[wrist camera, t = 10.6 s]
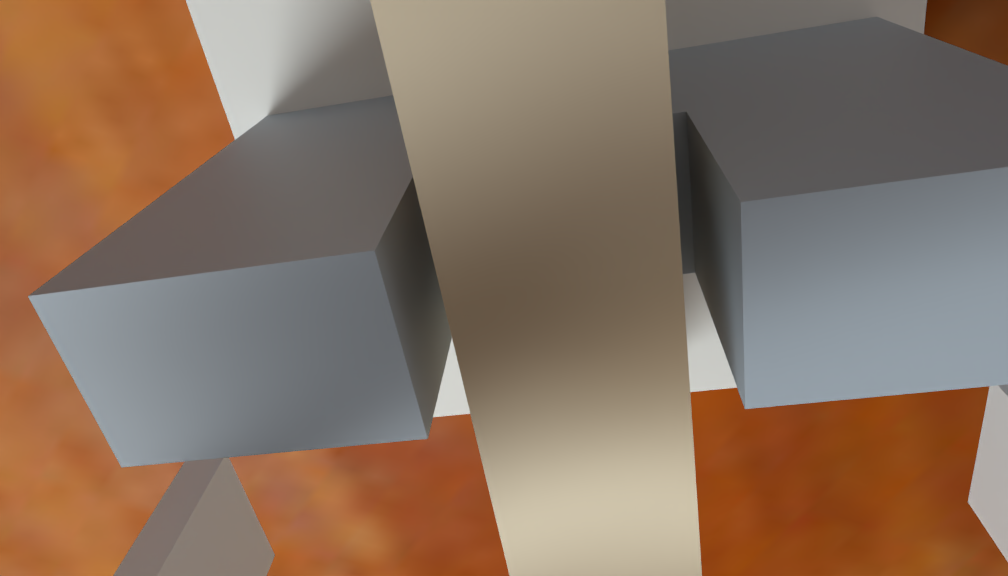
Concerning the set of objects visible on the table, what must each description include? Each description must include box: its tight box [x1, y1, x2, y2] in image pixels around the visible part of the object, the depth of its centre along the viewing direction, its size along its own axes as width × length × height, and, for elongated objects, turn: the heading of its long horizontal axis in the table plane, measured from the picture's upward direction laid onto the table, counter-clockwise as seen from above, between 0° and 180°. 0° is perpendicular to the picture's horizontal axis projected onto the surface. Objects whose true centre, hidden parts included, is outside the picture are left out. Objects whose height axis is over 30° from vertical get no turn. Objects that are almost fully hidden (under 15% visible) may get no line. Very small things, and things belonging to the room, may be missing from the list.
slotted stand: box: [28, 0, 1008, 467], centre depth 14 cm, size 16×16×10 cm
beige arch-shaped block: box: [370, 0, 702, 576], centre depth 13 cm, size 14×3×9 cm, turn 10°
